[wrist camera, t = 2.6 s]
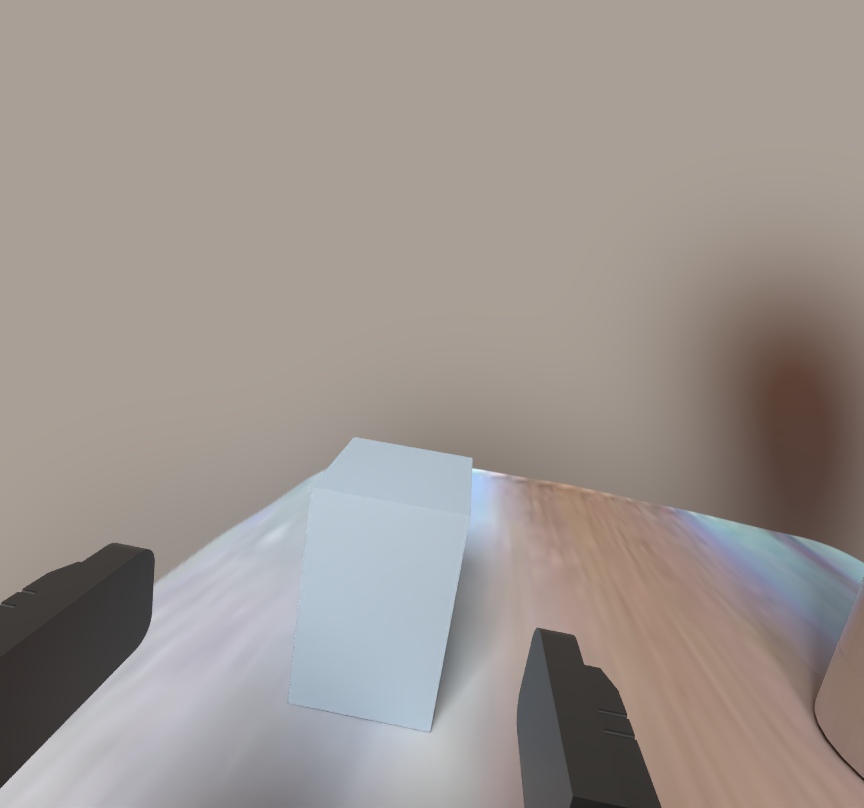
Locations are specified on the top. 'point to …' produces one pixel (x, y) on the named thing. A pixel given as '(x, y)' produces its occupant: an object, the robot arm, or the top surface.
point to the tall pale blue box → (380, 582)
